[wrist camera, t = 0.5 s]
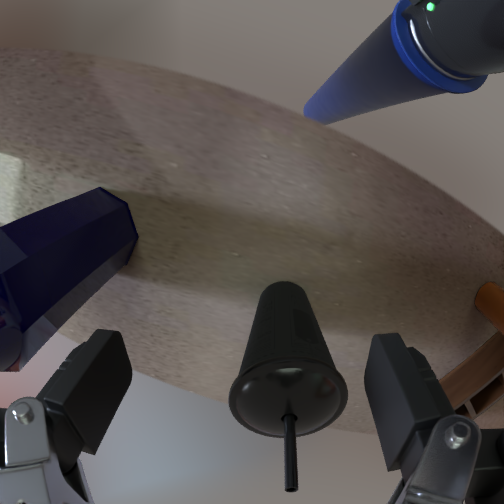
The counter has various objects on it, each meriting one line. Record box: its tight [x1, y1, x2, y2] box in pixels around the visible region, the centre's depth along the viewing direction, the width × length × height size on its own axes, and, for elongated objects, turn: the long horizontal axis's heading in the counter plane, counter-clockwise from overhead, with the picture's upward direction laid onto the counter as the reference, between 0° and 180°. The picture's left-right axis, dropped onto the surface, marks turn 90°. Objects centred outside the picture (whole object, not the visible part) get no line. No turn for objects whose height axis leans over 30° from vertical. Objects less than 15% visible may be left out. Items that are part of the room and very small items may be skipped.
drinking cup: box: [228, 282, 348, 492], centre depth 21 cm, size 8×8×20 cm
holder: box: [439, 331, 504, 420], centre depth 31 cm, size 7×20×6 cm, turn 132°
